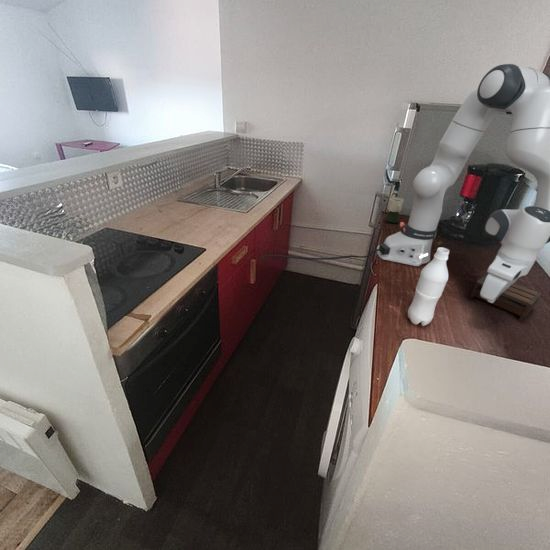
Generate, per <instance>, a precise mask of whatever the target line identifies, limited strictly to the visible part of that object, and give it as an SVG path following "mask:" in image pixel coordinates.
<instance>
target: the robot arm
mask: <svg viewBox="0 0 550 550" xmlns="http://www.w3.org/2000/svg"><path fill="white" fill-rule="evenodd" d="M502 113H505V114H506V115H512V123H511V127H510V130H509V133H508V137H507V141H506V146H505V152H506V156H507V158H508V159H509V161H510V162H511V163H512V164H514V165H515V166H517V167H519V168H521V169H523V170H525V171H526V172H529V173H530V174H531V175H532V176H533V177H534V178H535V179H536V183H537V186H536V187H537V188H536V195H535V204H534V205H531V206H530V205H529V206H525V207H523V208H520V209H518V208H517V209H509V208H508V209H507V208H506V209H497V210H495V211H493V212H492V213H491V214H490V215H489V216H488V217H487V219H486V221H485V224H484V228H483V229H484V232H485V234H486V236H487V237H488V239H490V240H491V241H494V242H497V243H500V244H501V246H500V248H499V249H498V251H497V253H496V255H495V257H494V259H493V261H492V262H491V264H489V266H488V268H487V270H486V272H487V273H489V274H488V275H487V277H486V279H485V281H484V284H483V286H482V289H481V291H480V296H481V297H482V298H484V299H486V300H487V301H488V302H487V301H486V302H487V303H489V302H490V303H489V304H492V303H494V302H495V301H496V300H497V299H498V297H499V296H500V294H502V293H503V292H504V291H505V290H506V289H507V288H509V287H510V286H511V285H512V284H513V283H514V284H515V283H516V282H517V281H518V279H519V278H520V277H524V276H527V275H528V274H529V272H530V271H531V269H532V267H533V266H534V264H535V262H536V261H537V258H538V255H539V252H540V251H541V250H543V248H544V247H545V245H546V244H548V243H550V75H549V74H548V73H546V72H542V71H540V70H538V69H536V68H533V67H530V66H529V67H528V66H520V65H517V64H515V63H504V64H499V65H497V66H494V67H492V68H491V69H489V71H487V72H486V74H485V75H483V77H482V78H481V80H480V82H479V84H478V87H477V88H476V89H474V90H473V91H471V92H470V93H469V95H468V96H467V97H466V99H465V100H464V101H463V102H462V104H461V106H460V107H459V108H458V110H457V112H456V113H455V115H454V116H453V118H452V119H451V122H450V124H449V125H448V127H447V129H446V131H445V132H444V134H443V136H442V138H441V139H440V141H439V144H438V148H437V151H436V153H435V156H434V158H433V160H432V162H431V164H430V165H429V166H426V167H424V168H422V169H421V170H420V171H419V172H418V173H417V175H416V176H415V178H413V182H412V188H413V196H412V197H413V198H412V199H413V200H412V207H411V209H410V210H411V212H410V214H409V217H408V222H407V223H405V222H404V221H400V222H399V227H400V231H397V232H395V233H392V234H391V235H388V236H387V237H386V238H385V240H384V241H383V243H379V245H377V247H376V249H374V250H372V251H370V252H369V254H367V255H354V254H353V255H351V254H349V255H342V256H341V255H340V256H335V257H334V256H333V257H306V256H304V257H303V256H295V255H285V254H284V255H283V254H264V255H261V256H260V257H259V259H258V260H259V261H261V260H263V259H264V258H287V259H297V260H298V259H300V260H310V261H311V260H312V261H314V260H315V261H319V260H320V261H327V260H328V261H329V260H339V259H346V258H347V259H348V258H359V259H361V258H362V259H363V258H369V257H371V256H372V255H373V254H374V253H376V254H377V256H378V257H379V258H380V259H381V260H384V261H388V262H392V263H393V262H394V263H398V264H404V265H407V266H408V265H409V266H413V267H420V266H421V265H423V264H429V263H430V262H431V253H432V252H431V251H432V245H433V242H434V240H435V238H436V236H437V233H438V225H439V223H440V219H441V217H442V213H443V204H444V199H445V194H446V192H447V190H449V189H450V188H451V187H453V185H455V183H456V181H457V180H458V178H459V176H460V175H461V173H462V171H463V169H464V167H465V165H466V164H467V162H468V160H469V158H470V156H471V154H472V153H473V151H474V149H475V148H476V146H477V145H478V143H479V141H481V139H482V137H483V135H484V134H485V132H486V131H487V129H488V128H489V126H490V124H491V123H492V121H493V120H494V119H495V117H497V116H498V115H500V114H502Z"/></svg>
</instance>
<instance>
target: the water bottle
mask: <svg viewBox="0 0 550 550" xmlns="http://www.w3.org/2000/svg"><path fill="white" fill-rule="evenodd" d="M449 255H450V249H449V248H446V247H441V246H440V247H437V249H436V252H434V254H433V258H432V260H430V261H429V262H428V263H426V265H425V266H424V267H423V268H422V269H421V270H420V275H419V277H418V280H417V283H416V286H415V293H414V296H413V299H412V302H411V304H410V306H409V307H408V309H407V318H408V319H409V320H410V322H411V323H412V324H413V325H415V326H416V325H419V324H421V326H422V327H425V326H427V325H429V324H430V323H431V322H432V320H433V318H434V316H435V309H436V306H437V303H438V301H439V300H440V298H441V296H442V295H443V292H444V290H445V288H446V284H447V282H448V281H449V270H448V266H447V261H448V260H449Z"/></svg>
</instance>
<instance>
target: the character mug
mask: <svg viewBox="0 0 550 550" xmlns="http://www.w3.org/2000/svg"><path fill="white" fill-rule="evenodd" d="M404 201H405V200H404V198H402V197H394V196H393V197H390V198H389V202H388V205H387V210H388V213H387V216H386V219H385V221H386V222H388V223H391V224H393V223H395V224H396V223H398V221H399V213H400V212H401V211H402V209H403V205H404Z"/></svg>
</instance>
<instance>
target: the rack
mask: <svg viewBox="0 0 550 550" xmlns="http://www.w3.org/2000/svg"><path fill="white" fill-rule="evenodd" d="M488 274H489V272H487V273H486V274H485V275H483V276H482V277H481V278H479V279H478V280H476V282H475V284H474V286H473V288H472V290H471V292H470V294H469V296H468V298H470V299H474V298H475V297H476V298H478V299H480V300H483V301H485V302H487V303H489V304H491V305H494V306H496V307H498V308H500V309H503V310H505V311H508V312H509V313H512V314H514V315H516V316H519V318H518V320H519V321H521V322H524V320H525V319H526V317H527V316H528V315H529V314H530V313H531V312H532V310H533V309H534V307H535V305H536V304H537V302H538V300H539V299H540V297H541V296H542V293H541V292H538V291H534V290H532V289H529V288H527V287H524V286H522V285H519V284H517V283H515V282H514V283H513V284H512V285H511V286H510V287H509V288H507V289H506V290H505V291H504V292H503V293H502V294H500V296H499V297H498V299H497V300H496V301H495V302H494V303H490V302H488V301H487V300H486V299H484V298H482V297H481V296H480V291H481V289H482V286H483V284H484V281H485V279H486V277H487V275H488Z"/></svg>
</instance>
